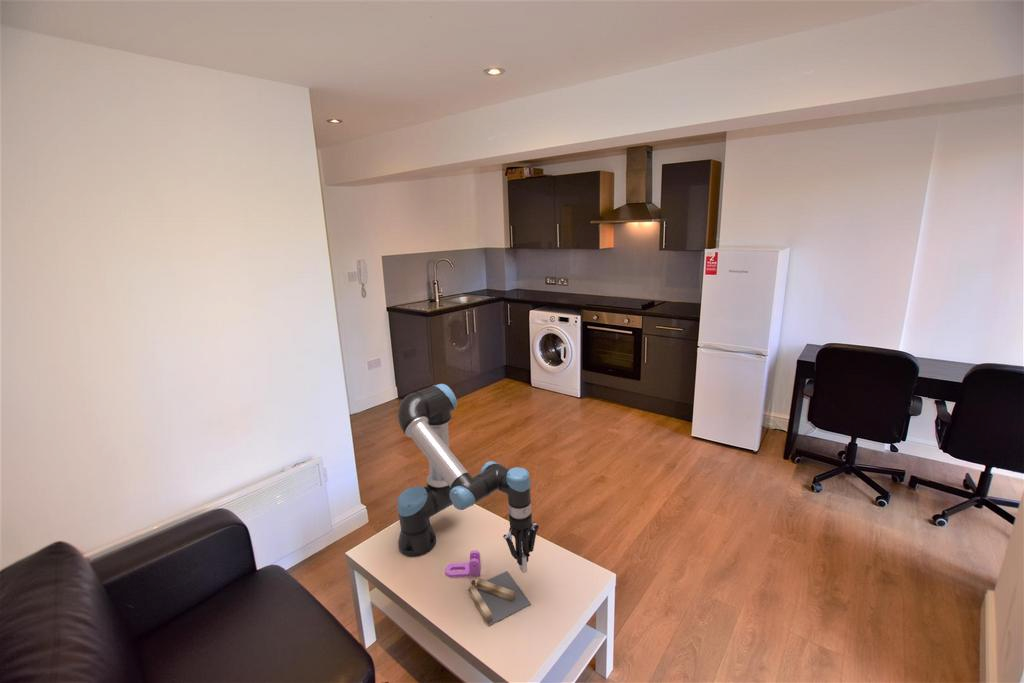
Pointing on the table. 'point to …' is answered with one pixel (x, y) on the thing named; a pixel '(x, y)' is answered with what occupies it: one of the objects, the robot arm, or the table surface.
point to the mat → (500, 605)
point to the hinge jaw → (496, 589)
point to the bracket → (465, 567)
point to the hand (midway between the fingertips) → (523, 570)
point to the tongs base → (480, 602)
